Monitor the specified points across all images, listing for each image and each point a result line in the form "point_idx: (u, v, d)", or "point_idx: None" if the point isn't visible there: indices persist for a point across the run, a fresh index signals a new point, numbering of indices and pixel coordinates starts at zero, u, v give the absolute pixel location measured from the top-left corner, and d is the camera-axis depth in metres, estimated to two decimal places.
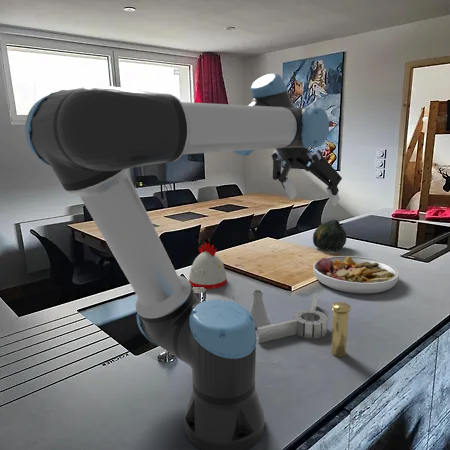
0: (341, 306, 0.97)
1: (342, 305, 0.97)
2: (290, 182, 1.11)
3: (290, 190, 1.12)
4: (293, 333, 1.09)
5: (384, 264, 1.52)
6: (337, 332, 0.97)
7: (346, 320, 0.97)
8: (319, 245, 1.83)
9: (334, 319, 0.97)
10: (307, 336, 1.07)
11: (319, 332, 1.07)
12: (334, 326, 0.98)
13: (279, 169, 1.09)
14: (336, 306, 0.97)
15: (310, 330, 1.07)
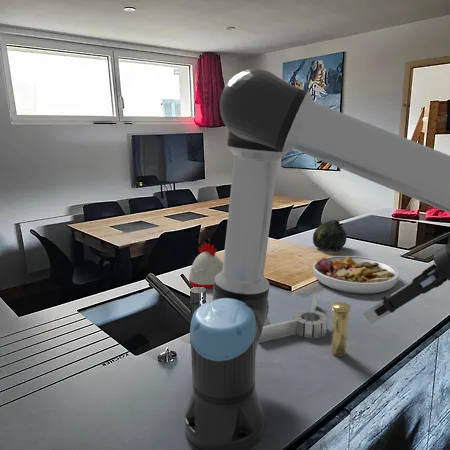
0: (341, 306, 0.97)
1: (342, 305, 0.97)
2: None
3: None
4: (293, 333, 1.09)
5: (384, 264, 1.52)
6: (337, 332, 0.97)
7: (346, 320, 0.97)
8: (319, 245, 1.83)
9: (334, 319, 0.97)
10: (307, 336, 1.07)
11: (319, 332, 1.07)
12: (334, 326, 0.98)
13: None
14: (336, 306, 0.97)
15: (310, 330, 1.07)
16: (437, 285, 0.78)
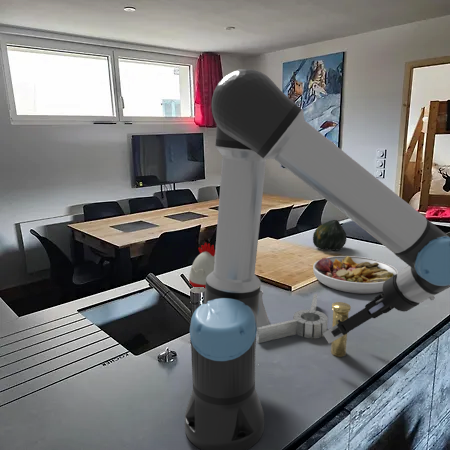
0: (341, 306, 0.97)
1: (342, 305, 0.97)
2: None
3: None
4: (293, 333, 1.09)
5: (384, 264, 1.52)
6: None
7: None
8: (319, 245, 1.83)
9: (334, 319, 0.97)
10: (307, 336, 1.07)
11: (319, 332, 1.07)
12: None
13: None
14: (336, 306, 0.97)
15: (310, 330, 1.07)
16: (386, 311, 0.87)
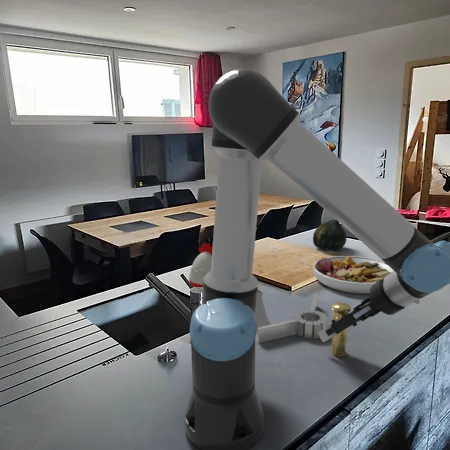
0: (341, 306, 0.97)
1: (342, 305, 0.97)
2: None
3: None
4: (293, 333, 1.09)
5: (384, 264, 1.52)
6: None
7: None
8: (319, 245, 1.83)
9: (334, 319, 0.97)
10: (307, 336, 1.07)
11: None
12: None
13: None
14: (336, 306, 0.97)
15: (310, 330, 1.07)
16: (372, 315, 0.89)
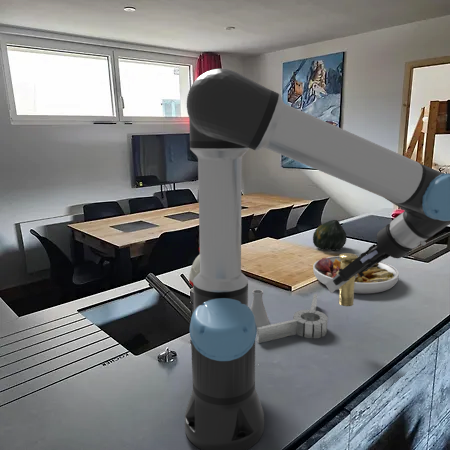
0: (348, 256, 0.99)
1: (350, 255, 0.99)
2: None
3: None
4: (293, 333, 1.09)
5: (384, 264, 1.52)
6: None
7: None
8: (319, 245, 1.83)
9: None
10: (307, 336, 1.07)
11: (319, 332, 1.07)
12: None
13: None
14: (344, 256, 0.99)
15: (310, 330, 1.07)
16: (379, 260, 0.91)
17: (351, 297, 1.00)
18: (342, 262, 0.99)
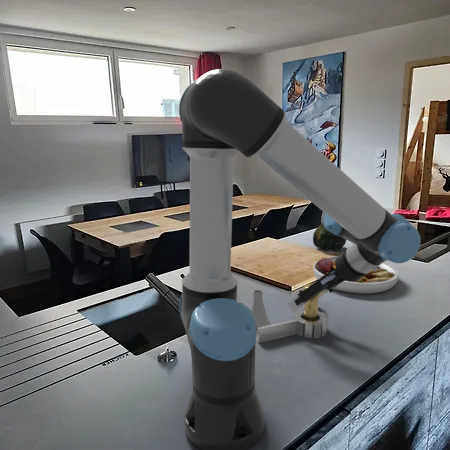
0: None
1: None
2: (321, 293, 1.12)
3: None
4: (293, 333, 1.09)
5: (384, 264, 1.52)
6: (308, 310, 1.09)
7: (316, 300, 1.08)
8: (319, 245, 1.83)
9: None
10: (307, 336, 1.07)
11: (319, 332, 1.07)
12: (306, 305, 1.09)
13: None
14: None
15: (310, 330, 1.07)
16: (337, 282, 1.00)
17: None
18: None
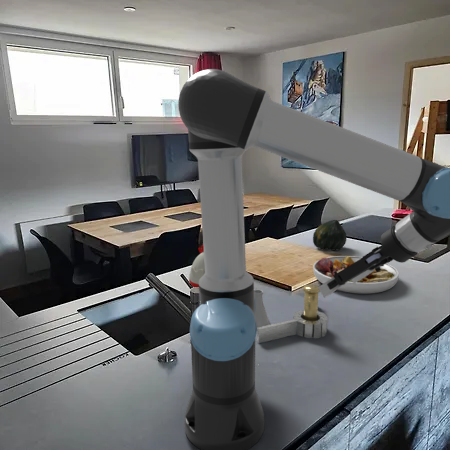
0: (311, 287, 1.08)
1: (313, 287, 1.09)
2: (366, 272, 0.99)
3: None
4: (293, 333, 1.09)
5: (384, 264, 1.52)
6: (308, 311, 1.09)
7: (316, 300, 1.08)
8: (319, 245, 1.83)
9: (305, 299, 1.09)
10: (307, 336, 1.07)
11: (319, 332, 1.07)
12: (305, 305, 1.09)
13: None
14: (307, 287, 1.08)
15: (310, 330, 1.07)
16: (383, 263, 0.86)
17: None
18: (305, 293, 1.08)
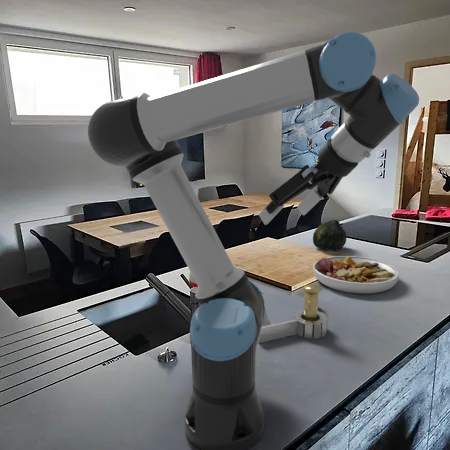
0: (311, 287, 1.08)
1: (313, 287, 1.09)
2: (314, 200, 0.92)
3: (306, 201, 0.94)
4: (293, 333, 1.09)
5: (384, 264, 1.52)
6: (308, 311, 1.09)
7: (316, 300, 1.08)
8: (319, 245, 1.83)
9: (305, 299, 1.09)
10: (307, 336, 1.07)
11: (319, 332, 1.07)
12: (305, 305, 1.09)
13: (330, 184, 0.90)
14: (307, 287, 1.08)
15: (310, 330, 1.07)
16: (322, 179, 0.80)
17: None
18: (306, 293, 1.08)
